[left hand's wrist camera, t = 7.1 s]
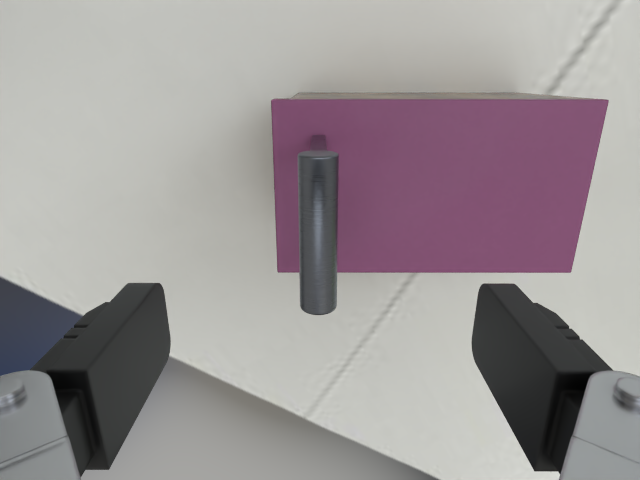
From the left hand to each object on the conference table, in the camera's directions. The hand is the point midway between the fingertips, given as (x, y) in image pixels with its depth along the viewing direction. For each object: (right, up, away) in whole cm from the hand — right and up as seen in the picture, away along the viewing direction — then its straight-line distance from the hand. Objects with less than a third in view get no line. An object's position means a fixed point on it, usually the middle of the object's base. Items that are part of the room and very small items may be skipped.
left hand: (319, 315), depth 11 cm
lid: (+6, +5, +13) cm, 15 cm away
